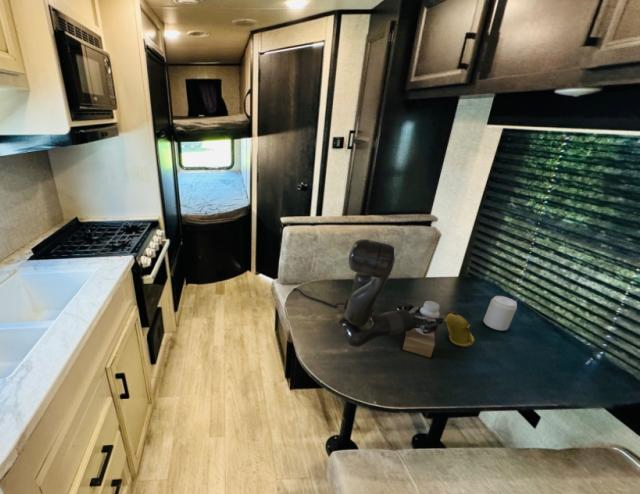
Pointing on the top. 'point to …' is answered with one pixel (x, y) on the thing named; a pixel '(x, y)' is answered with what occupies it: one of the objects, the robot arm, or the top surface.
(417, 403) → the top surface
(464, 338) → the yellow flared lump
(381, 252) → the robot arm
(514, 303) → the white cylinder
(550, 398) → the top surface
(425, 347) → the striped tan crate
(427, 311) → the pill bottle
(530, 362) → the top surface
